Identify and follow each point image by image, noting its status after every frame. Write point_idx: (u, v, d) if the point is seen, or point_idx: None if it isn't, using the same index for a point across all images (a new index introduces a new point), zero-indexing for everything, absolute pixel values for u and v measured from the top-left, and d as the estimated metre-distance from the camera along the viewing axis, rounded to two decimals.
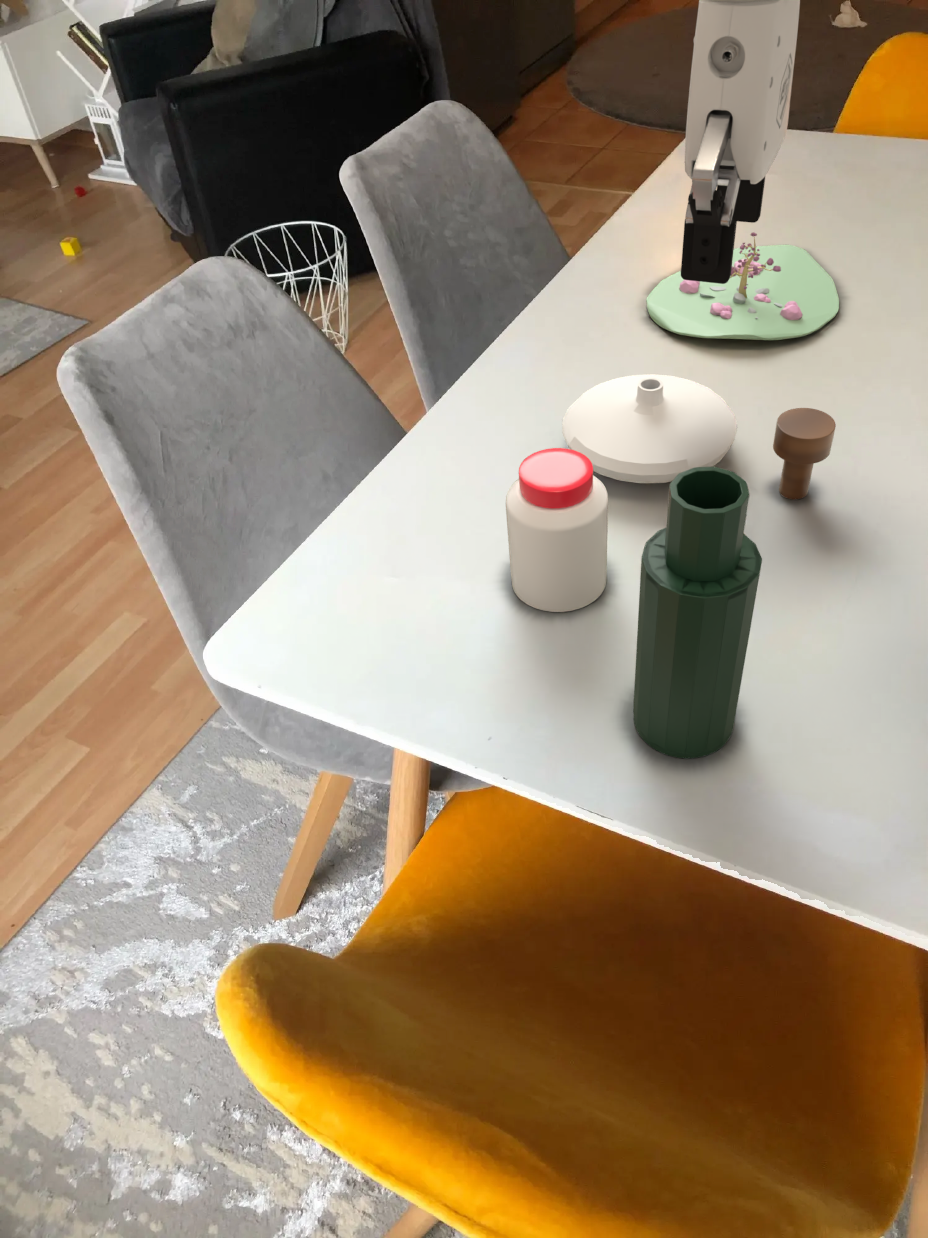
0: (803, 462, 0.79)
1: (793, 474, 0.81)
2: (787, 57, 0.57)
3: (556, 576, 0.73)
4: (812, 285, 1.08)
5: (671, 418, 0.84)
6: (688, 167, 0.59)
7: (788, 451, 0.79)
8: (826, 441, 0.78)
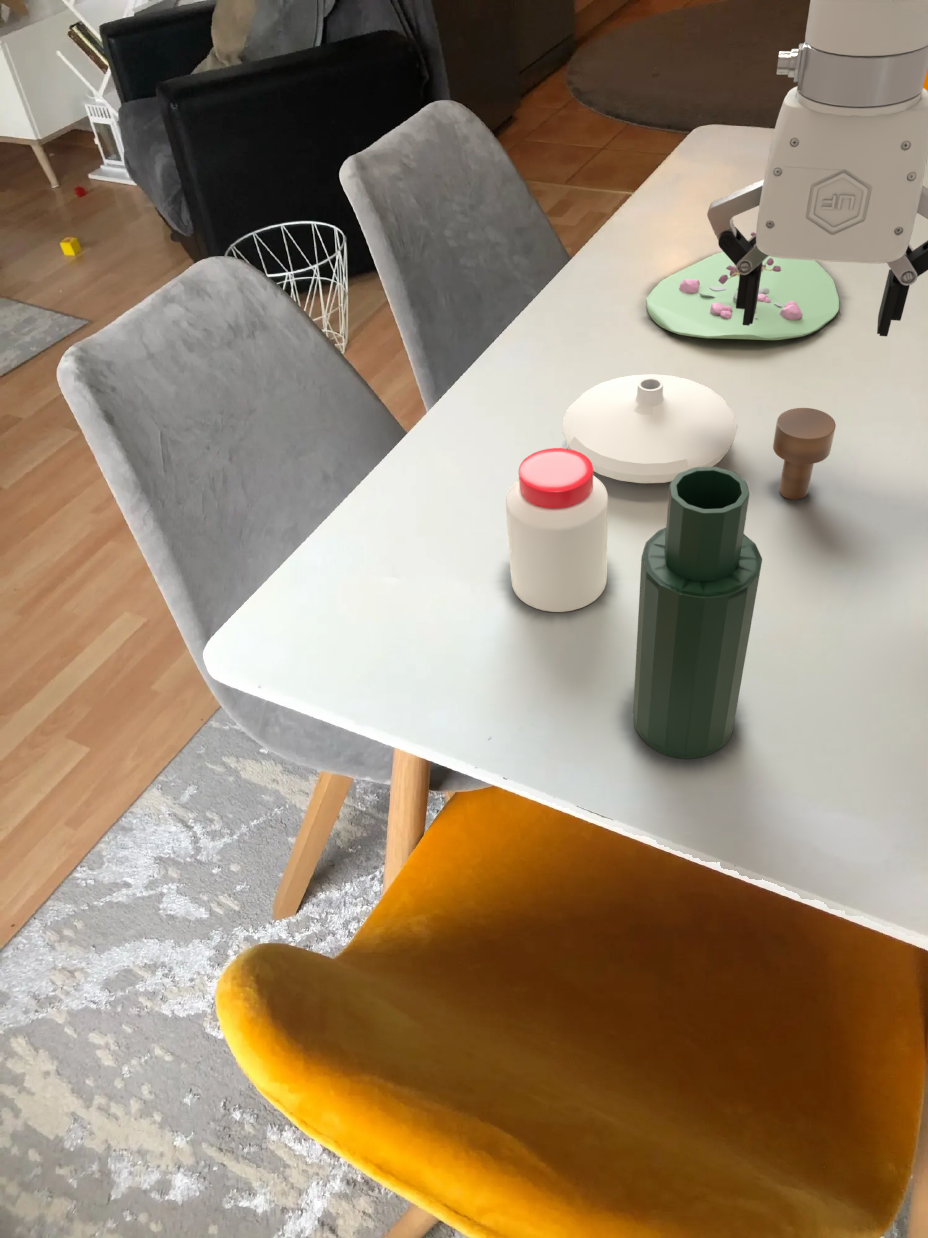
0: (803, 462, 0.79)
1: (793, 474, 0.81)
2: (829, 169, 0.62)
3: (556, 576, 0.73)
4: (812, 285, 1.08)
5: (671, 418, 0.84)
6: None
7: (788, 451, 0.79)
8: (826, 441, 0.78)
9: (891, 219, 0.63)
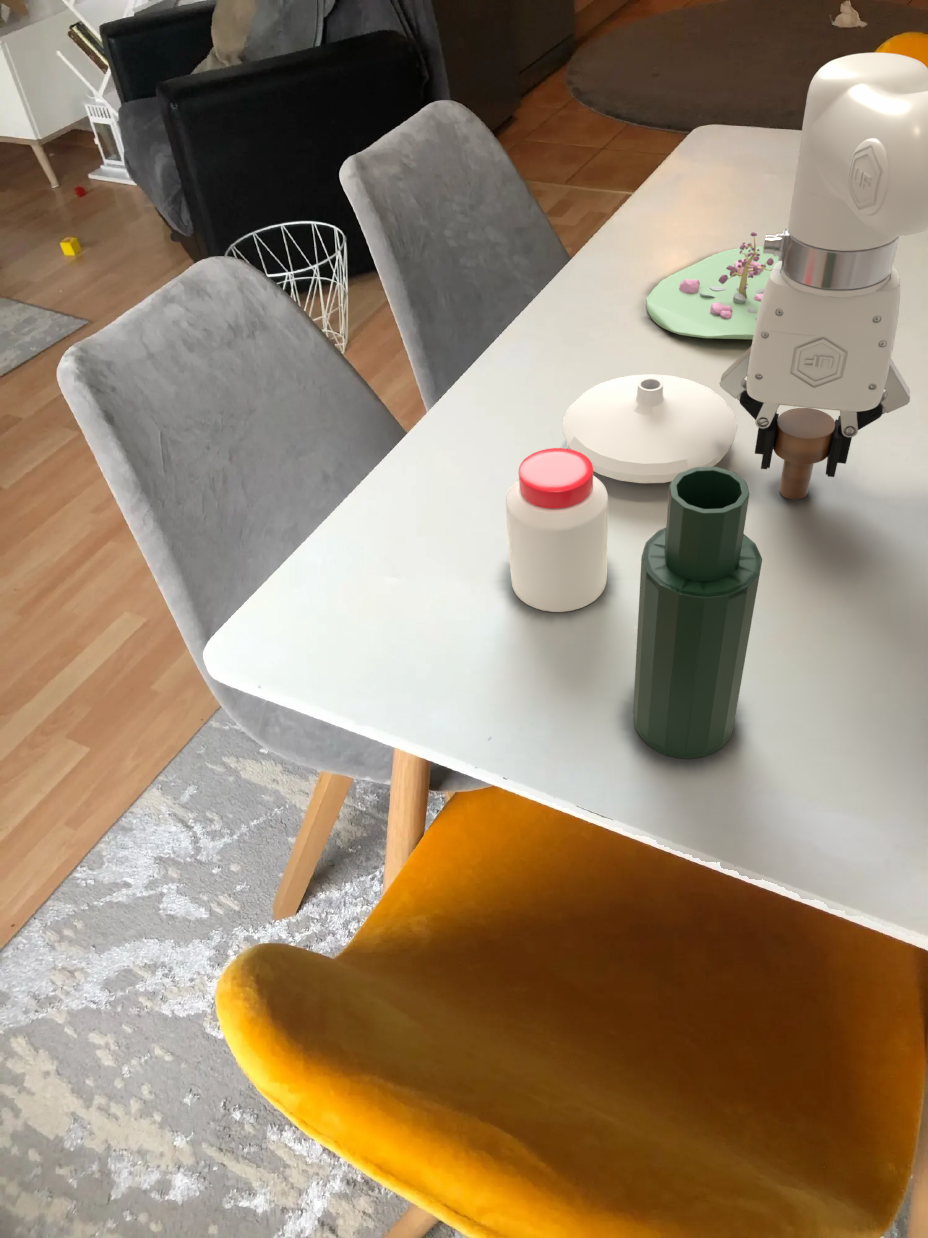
0: (803, 462, 0.79)
1: (793, 474, 0.81)
2: (810, 335, 0.70)
3: (556, 576, 0.73)
4: None
5: (671, 418, 0.84)
6: None
7: (788, 451, 0.79)
8: (826, 441, 0.78)
9: (865, 377, 0.71)
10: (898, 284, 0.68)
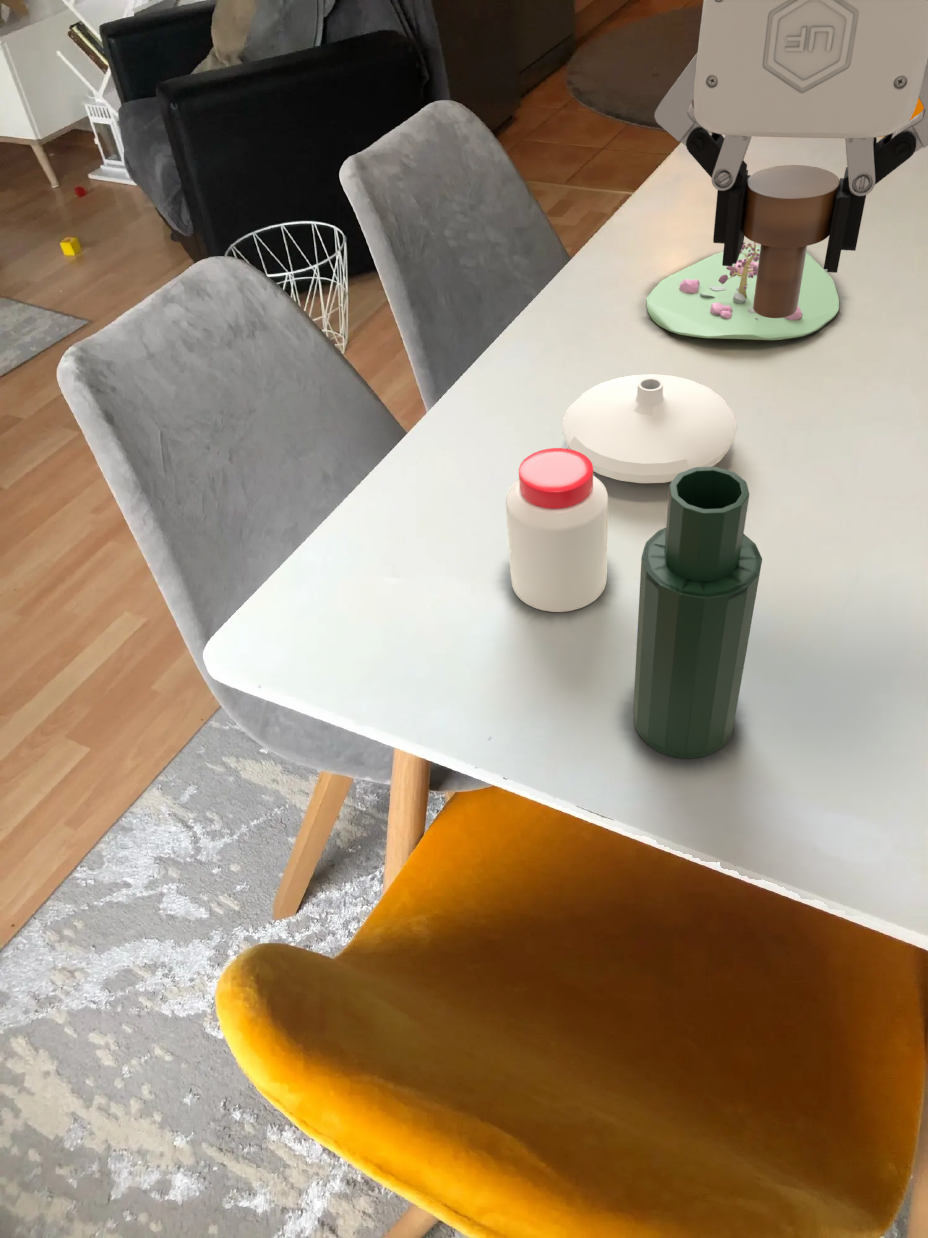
0: (787, 244, 0.49)
1: (773, 272, 0.52)
2: None
3: (556, 576, 0.73)
4: (812, 285, 1.08)
5: (671, 418, 0.84)
6: None
7: (764, 226, 0.49)
8: (825, 205, 0.48)
9: (889, 63, 0.42)
10: None
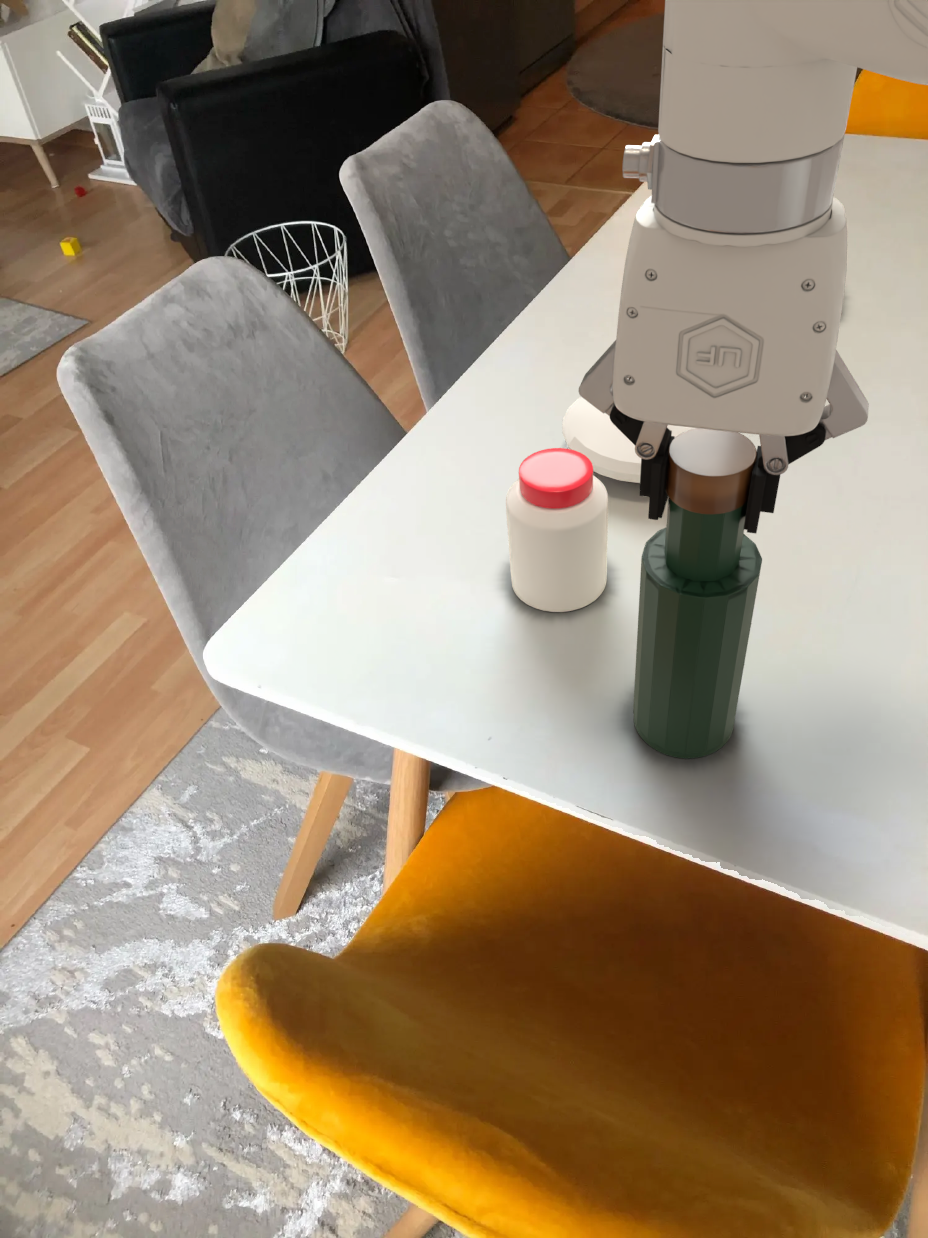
0: (708, 511, 0.51)
1: None
2: (703, 313, 0.43)
3: (556, 576, 0.73)
4: None
5: None
6: None
7: (685, 494, 0.51)
8: (742, 479, 0.50)
9: (794, 382, 0.44)
10: (843, 226, 0.40)
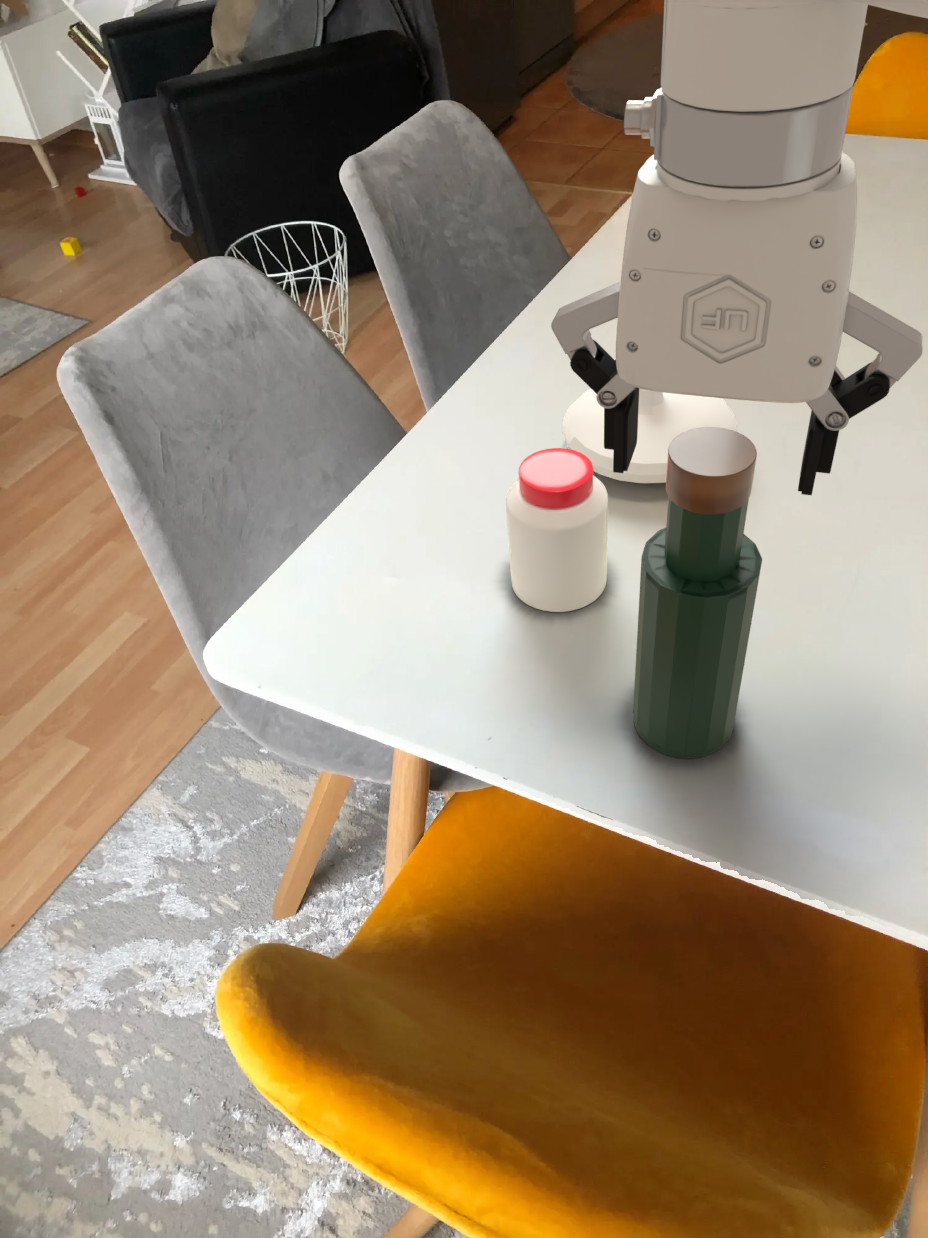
0: (708, 511, 0.51)
1: None
2: (708, 274, 0.42)
3: (556, 576, 0.73)
4: None
5: (671, 418, 0.84)
6: None
7: (685, 494, 0.51)
8: (742, 479, 0.50)
9: (803, 345, 0.43)
10: (853, 180, 0.39)
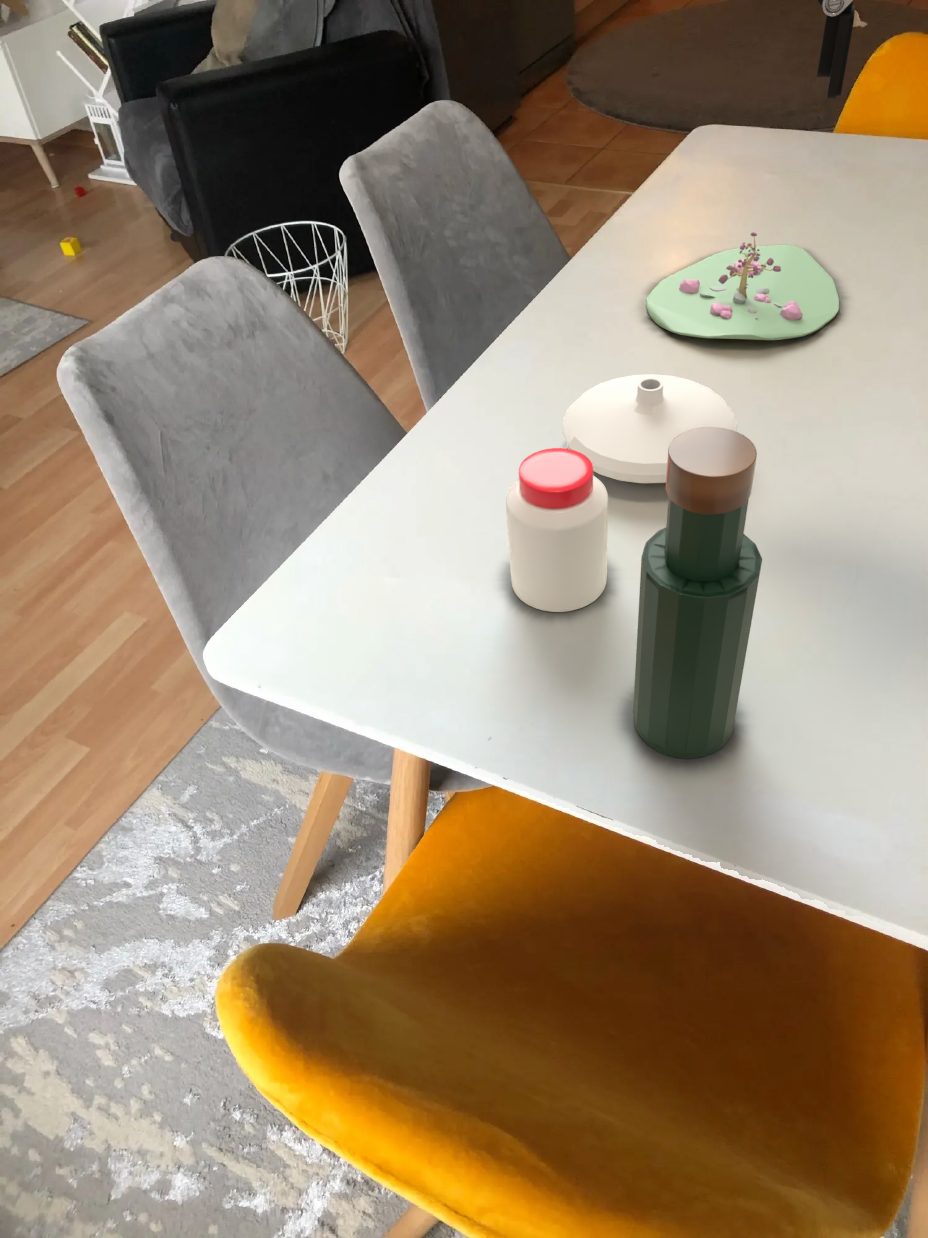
0: (708, 511, 0.51)
1: None
2: None
3: (556, 576, 0.73)
4: (812, 285, 1.08)
5: (671, 418, 0.84)
6: None
7: (685, 494, 0.51)
8: (742, 479, 0.50)
9: None
10: None
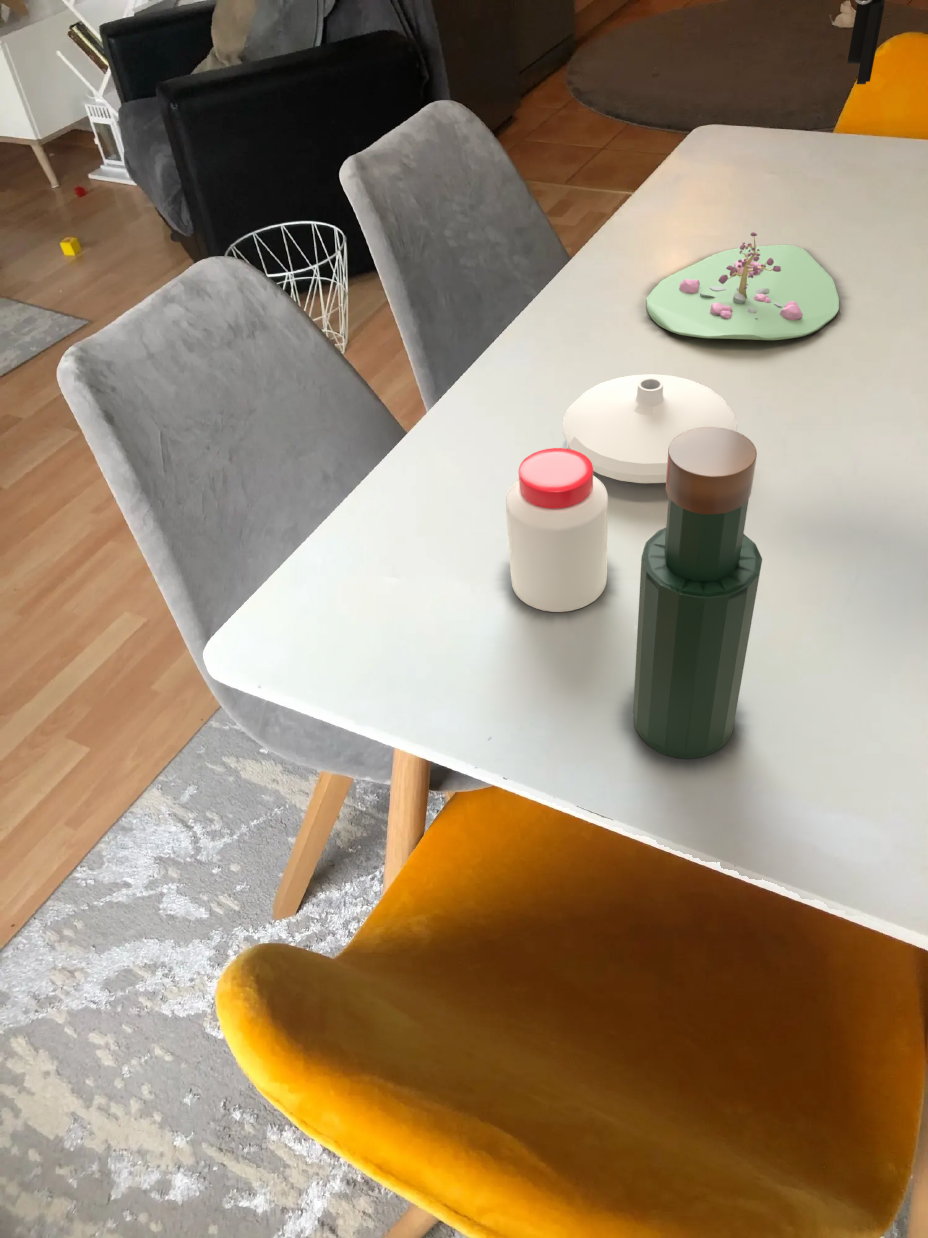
0: (708, 511, 0.51)
1: None
2: None
3: (556, 576, 0.73)
4: (812, 285, 1.08)
5: (671, 418, 0.84)
6: None
7: (685, 494, 0.51)
8: (742, 479, 0.50)
9: None
10: None
